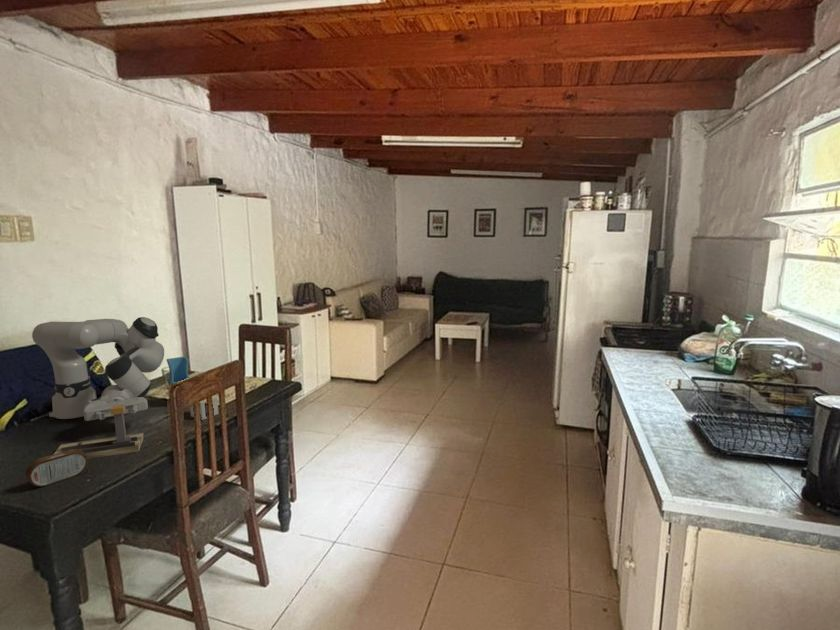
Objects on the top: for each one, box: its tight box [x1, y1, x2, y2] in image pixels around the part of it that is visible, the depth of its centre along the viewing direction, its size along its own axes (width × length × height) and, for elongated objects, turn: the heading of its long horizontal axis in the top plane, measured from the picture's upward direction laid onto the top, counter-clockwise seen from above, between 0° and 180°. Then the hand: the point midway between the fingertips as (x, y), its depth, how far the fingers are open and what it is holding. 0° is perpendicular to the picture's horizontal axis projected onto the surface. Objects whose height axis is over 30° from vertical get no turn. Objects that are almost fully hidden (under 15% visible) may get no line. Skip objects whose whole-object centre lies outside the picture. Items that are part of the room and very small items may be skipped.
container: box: [189, 395, 219, 421], centre depth 194 cm, size 8×8×13 cm
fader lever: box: [111, 404, 131, 445], centre depth 162 cm, size 4×5×14 cm
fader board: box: [53, 432, 145, 460], centre depth 163 cm, size 12×25×3 cm, turn 112°
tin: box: [25, 449, 89, 488], centre depth 143 cm, size 15×3×8 cm, turn 141°
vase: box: [166, 356, 190, 386], centre depth 208 cm, size 8×8×20 cm
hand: (117, 414), depth 172 cm, fingers open, 8 cm apart
